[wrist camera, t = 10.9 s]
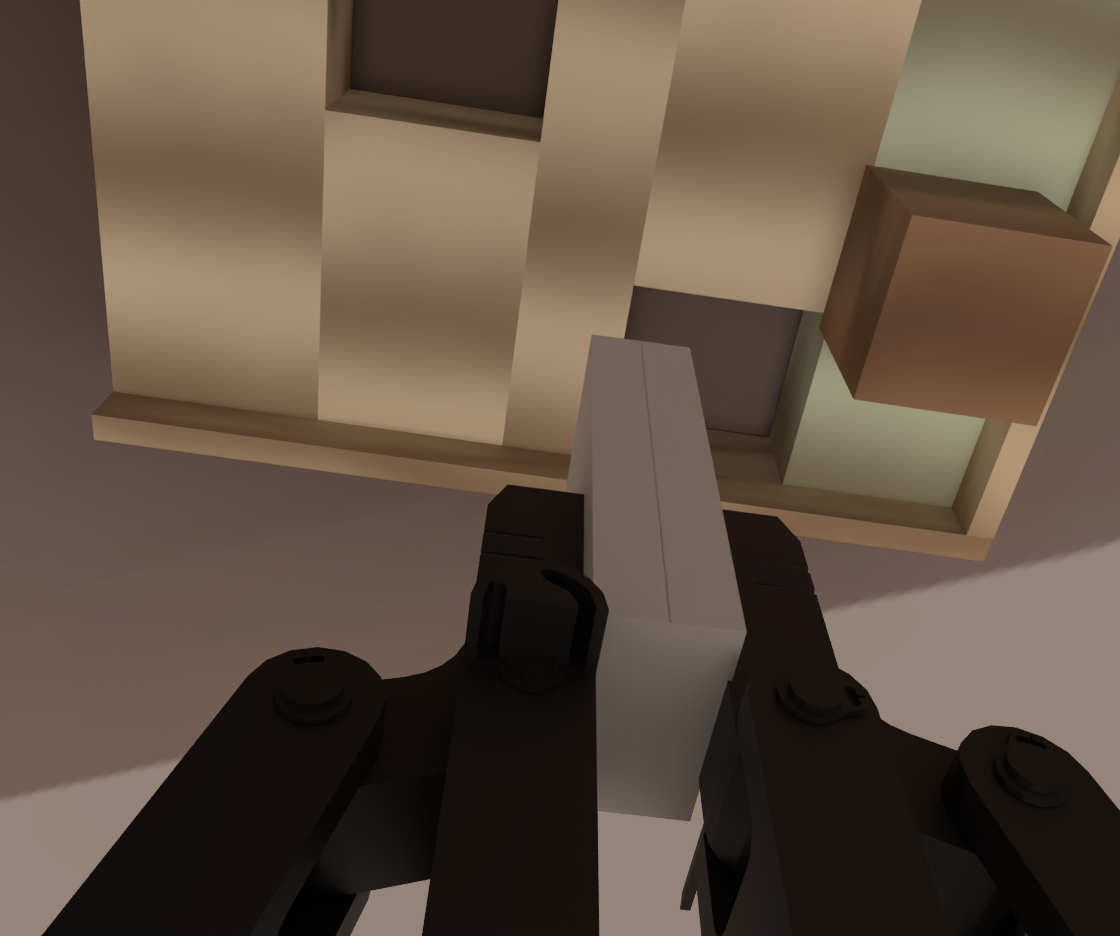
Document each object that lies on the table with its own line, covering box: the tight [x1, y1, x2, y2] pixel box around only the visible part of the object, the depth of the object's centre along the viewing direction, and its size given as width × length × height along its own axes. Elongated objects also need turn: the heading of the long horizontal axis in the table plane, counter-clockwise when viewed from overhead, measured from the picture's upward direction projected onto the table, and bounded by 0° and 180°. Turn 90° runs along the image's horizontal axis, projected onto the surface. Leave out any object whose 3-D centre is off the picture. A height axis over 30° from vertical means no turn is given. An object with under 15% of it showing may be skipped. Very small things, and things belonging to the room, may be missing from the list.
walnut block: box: [819, 165, 1113, 426], centre depth 26 cm, size 4×4×4 cm
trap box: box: [80, 0, 1120, 561], centre depth 28 cm, size 16×26×4 cm, turn 82°
